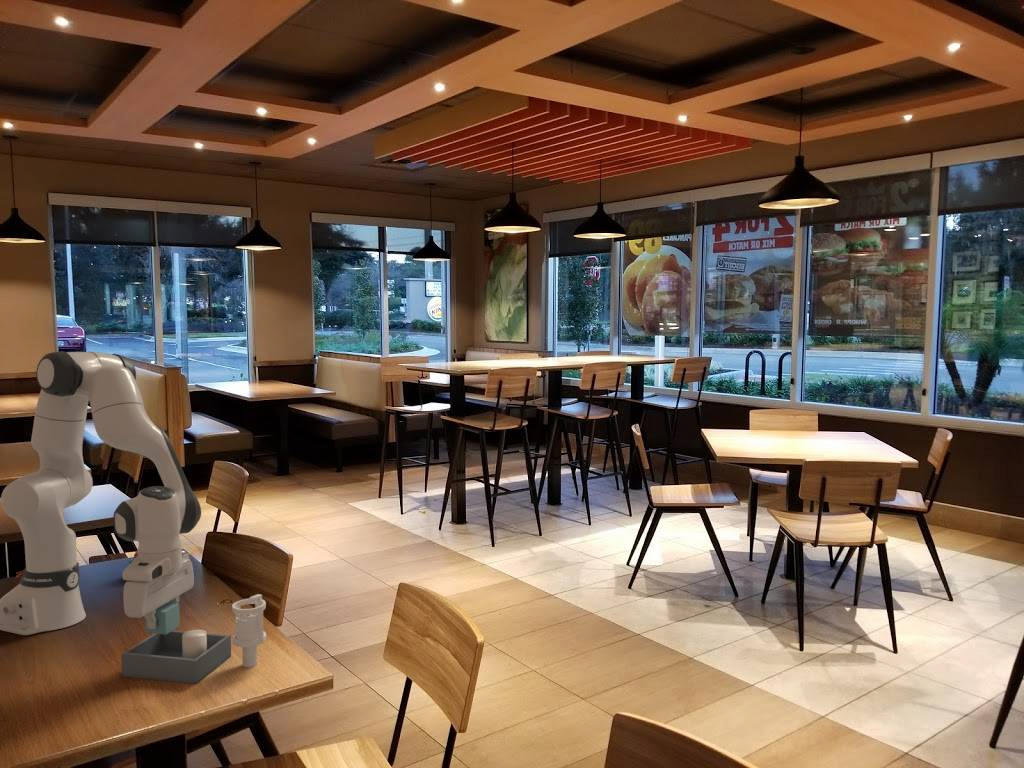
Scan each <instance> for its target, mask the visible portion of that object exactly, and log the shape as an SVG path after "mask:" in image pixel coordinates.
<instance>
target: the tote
mask: <svg viewBox="0 0 1024 768" xmlns="http://www.w3.org/2000/svg"><path fill="white" fill-rule="evenodd" d="M185 632H187V631H185V630H176V629H174V630H172V631H171V632H169V633H168V634H154V633H151V635H149V636H148V637H146V638H145V639H143V640H141V641H140V642H138V643H137V644H135V645H133V646H131V647H130V648H129V649H126V650H125V651H124V652H122V653H121V677H125V678H126V677H127V678H136V679H143V680H144V679H145V680H155V681H165V682H173V683H174V682H176V683H186V684H198V683H200V682H201V681H203V679H205V678H206V677H208V675H210V674H211V673H213V672H214V671H215V670H216V669H218V667H220V666H221V665H222V664H224V663H225V662H226V661H228V660H229V659H230V658H231V657H232V636H231V634H230V635H229V634H220V633H219V634H218V633H217V634H216V633H208V632H207V651H205V652H204V653H202V654H201V655H200V656H198V657H197V658H196V659H190V658H183V657H182V634H184V633H185Z"/></svg>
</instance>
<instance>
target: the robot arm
mask: <svg viewBox="0 0 1024 768" xmlns="http://www.w3.org/2000/svg"><path fill="white" fill-rule="evenodd" d="M136 370H137V369H136V367H135V363H134V362H133V361H132V360H131V359H130V358H129V357H127V356H124V355H121V354H117V353H111V354H110V353H105V352H99V351H67V352H66V351H64V350H62V351H53V352H49V353H46V354H44V355H43V356H42V358H41V359H40V360H39V362H38V364H37V366H36V371H35V372H36V373H35V374H36V382H37V385H38V386H39V387H40V392H39V396H38V399H37V403H36V407H35V413H34V419H33V426H32V433H31V439H30V440H31V441H30V444H31V447H32V449H34V451H36V452H37V453H38V457H39V464H40V465H39V469H38V471H35V472H31V473H28V474H25V475H22V476H19V477H18V478H17V479H15V480H13V481H12V482H10V483H9V484H7V485H6V486H5V487H4V489H3V491H2V493H1V496H0V504H1V507H2V510H3V512H5V514H6V515H7V516H9V518H11V519H13V520H14V521H15V522H16V523H17V525H18V527H19V529H20V532H21V534H22V537H23V541H24V554H25V568H24V569H23V570H21V571H18V572H16V578H20V577H21V578H20V582H19V584H17V585H16V586H15V587H14V588H12V589H11V590H10V591H8V592H7V593H6V594H5V595H3V596H2V597H1V598H0V631H3V632H8V633H13V634H17V635H22V636H29V635H34V634H37V633H38V634H39V633H44V632H50V631H55V630H59V629H64V628H68V627H71V626H73V625H76V624H78V623H80V622H82V621H83V620H84V619H86V617H87V613H86V612H85V609H84V604H83V601H82V597H81V592H80V586H79V581H80V564H79V562H78V557H77V554H78V553H77V550H78V549H77V536H76V532H75V531H74V530H73V529H72V528H70V527H68V525H67V523H66V522H65V518H64V515H63V510H65V509H67V508H69V507H71V506H73V507H74V506H75V505H76V504H78V503H80V502H81V501H82V500H84V499H85V498H86V497H88V496H89V494H90V493H91V491H92V489H93V486H94V485H93V484H94V482H93V477H92V475H91V472H89V470H88V469H86V467H85V462H84V456H83V443H84V435H85V428H86V421H87V414H88V405H90V411H91V416H92V421H93V427H94V428H95V432H96V435H97V436H98V438H99V439H100V440H101V441H102V443H103V442H104V443H105V444H106V445H108V446H110V447H112V448H114V449H116V450H117V449H118V450H121V451H126V452H131V453H133V454H137V455H141V456H143V457H146V458H147V459H150V460H151V462H153V463H154V465H155V467H156V469H157V472H158V474H159V476H160V478H161V481H162V484H163V486H161V485H155V486H149V487H145V488H143V489H142V490H140V491H139V492H138V494H137V496H135V497H133V498H129V499H127V500H124V501H122V502H120V503H119V504H118V505H117V507H116V509H115V510H114V512H113V530H114V533H115V535H117V536H118V537H119V538H120V539H122V540H125V541H126V542H138V548H137V550H138V556H136V557H135V558H134V559H133V560H131V561H132V563H131V564H130V563H129V565H127V567H125V568H124V569H123V571H122V574H121V575H122V579H123V580H124V581H126V582H125V583H124V586H123V593H122V594H123V596H122V597H123V611H124V614H125V616H127V617H128V618H137V619H139V618H142V617H143V618H144V620H145V619H146V620H147V627H148V628H149V629H155V628H156V627H158V626H159V619H156V618H155V615H154V614H155V613H156V609H157V608H159V607H160V606H162V605H164V604H165V603H172V604H179V602H180V596H181V595H182V594H184V593H187V592H188V591H189V590H191V589H193V587H194V584H195V576H194V575H195V574H194V569H193V567H194V566H193V563H192V561H191V559H190V553H188V552H187V551H186V550H182V548H183V547H182V541H181V538H180V535H181V534H188V533H189V534H190V532H191V531H192V530H194V529H195V527H196V526H197V524H198V523H199V522H200V519H201V517H202V508H201V505H200V502H199V499H198V498H197V496H196V494H195V492H194V491H193V489H192V488H191V486H190V483H189V482H188V479H187V477H186V475H185V473H184V470H183V468H182V465H181V463H180V461H179V458H178V455H177V454H176V451H175V449H174V447H173V444H172V443H171V440H170V438H169V437H168V435H167V433H166V431H165V430H164V429H162V428H160V427H157V426H156V425H155V423H154V422H153V421H152V420H151V419H150V417H149V415H148V413H147V411H146V409H145V404H144V401H143V397H142V394H141V391H140V388H139V386H138V383H137V381H136V379H137V371H136Z"/></svg>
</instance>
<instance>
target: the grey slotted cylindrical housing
mask: <svg viewBox="0 0 1024 768" xmlns="http://www.w3.org/2000/svg"><path fill="white" fill-rule="evenodd" d="M245 605H246V606H247V605H254V607H253V608H241V606H245ZM266 605H267V603H266V600H264V599H263V594H259V593H258V594H255V595H251V596H250V597H249V598H243V599H241V600H238V601H235V602H233V604H232V605H231V606H232V607H231V608H232V609H231V610H232V613H233V614H235V633H234V635H233V636H232V644H233V645H234V646H236V647H240V648H241V647H242V667H244V668H254V667H256V666H257V665H258V646H259V645H261V644H264V642H265V641H267V632H266V631H265V630H264V611H265V609H266V607H267V606H266Z"/></svg>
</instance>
